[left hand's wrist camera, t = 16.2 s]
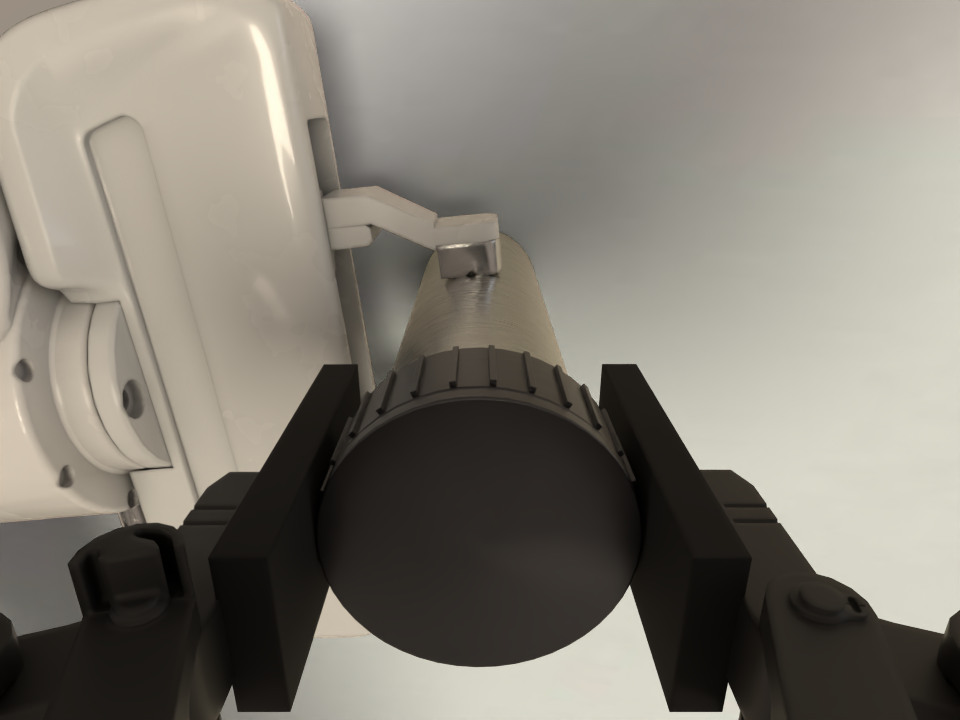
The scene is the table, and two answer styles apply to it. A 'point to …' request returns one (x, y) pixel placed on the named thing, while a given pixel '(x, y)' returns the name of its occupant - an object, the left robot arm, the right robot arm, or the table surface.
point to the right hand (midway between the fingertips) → (508, 334)
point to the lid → (479, 510)
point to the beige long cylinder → (481, 312)
